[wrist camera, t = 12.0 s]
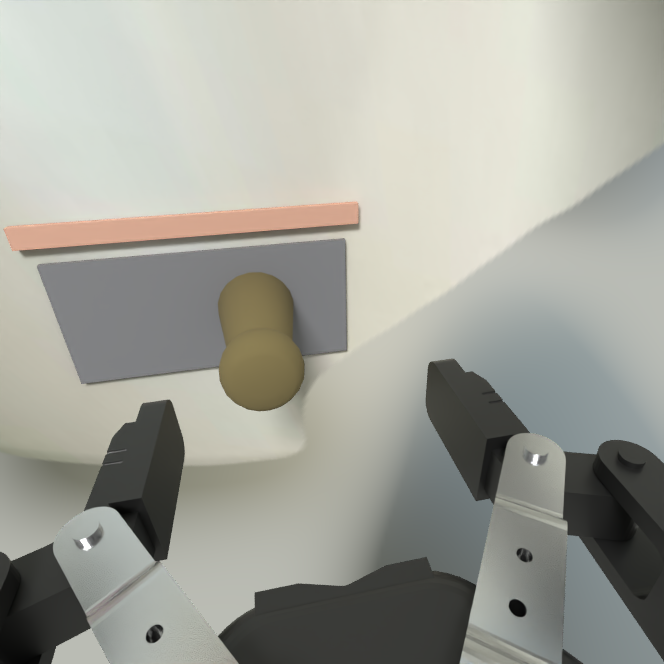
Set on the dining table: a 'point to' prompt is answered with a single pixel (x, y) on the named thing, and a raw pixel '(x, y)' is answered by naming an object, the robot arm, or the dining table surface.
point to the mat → (187, 305)
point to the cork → (259, 342)
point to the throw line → (179, 225)
